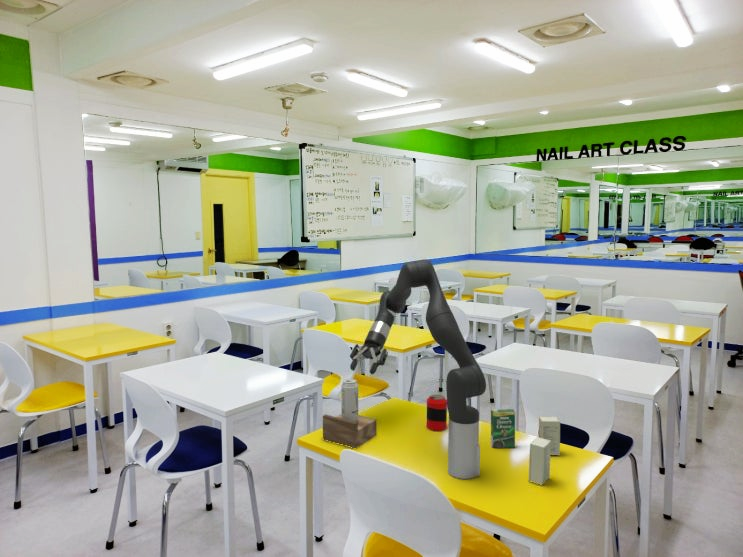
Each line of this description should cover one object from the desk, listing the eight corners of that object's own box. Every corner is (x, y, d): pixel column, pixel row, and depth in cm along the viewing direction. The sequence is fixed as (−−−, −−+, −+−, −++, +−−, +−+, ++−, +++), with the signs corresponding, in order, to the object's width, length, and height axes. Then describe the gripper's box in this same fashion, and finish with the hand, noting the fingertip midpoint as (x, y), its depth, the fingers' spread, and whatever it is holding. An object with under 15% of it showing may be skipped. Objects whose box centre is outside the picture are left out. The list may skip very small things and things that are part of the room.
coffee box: (491, 448, 178) (492, 411, 176) (489, 445, 180) (490, 408, 179) (515, 448, 178) (516, 411, 176) (512, 445, 181) (513, 408, 179)
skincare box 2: (536, 474, 159) (537, 436, 158) (550, 478, 156) (551, 440, 155) (527, 482, 154) (529, 443, 153) (542, 486, 152) (543, 447, 150)
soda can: (422, 426, 198) (423, 395, 196) (438, 422, 201) (439, 392, 200) (434, 432, 191) (434, 401, 190) (450, 429, 194) (451, 398, 193)
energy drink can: (356, 425, 183) (356, 383, 181) (339, 423, 184) (339, 382, 182) (359, 418, 189) (359, 379, 187) (343, 417, 190) (343, 378, 188)
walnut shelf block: (345, 427, 196) (345, 404, 195) (376, 435, 189) (376, 411, 188) (322, 440, 184) (322, 415, 183) (355, 449, 177) (355, 423, 176)
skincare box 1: (556, 451, 176) (558, 416, 174) (560, 456, 171) (561, 421, 170) (537, 450, 176) (538, 415, 175) (540, 455, 172) (541, 420, 171)
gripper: (358, 328, 201) (341, 363, 192) (390, 332, 193) (374, 369, 185) (365, 338, 206) (349, 373, 197) (397, 343, 198) (381, 379, 190)
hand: (361, 371), depth 191 cm, fingers open, 8 cm apart
